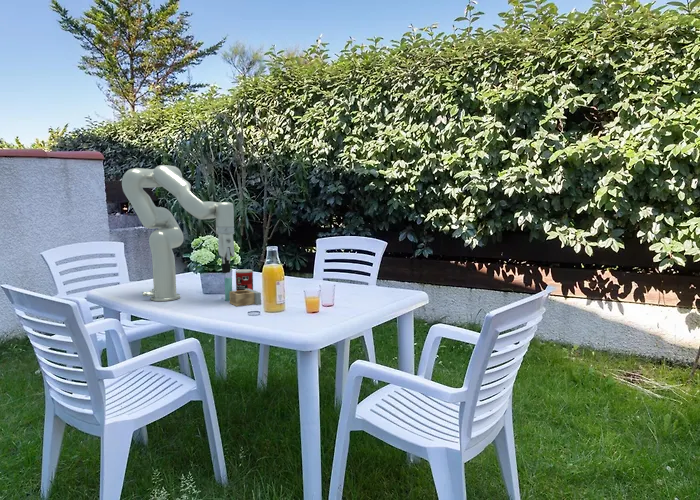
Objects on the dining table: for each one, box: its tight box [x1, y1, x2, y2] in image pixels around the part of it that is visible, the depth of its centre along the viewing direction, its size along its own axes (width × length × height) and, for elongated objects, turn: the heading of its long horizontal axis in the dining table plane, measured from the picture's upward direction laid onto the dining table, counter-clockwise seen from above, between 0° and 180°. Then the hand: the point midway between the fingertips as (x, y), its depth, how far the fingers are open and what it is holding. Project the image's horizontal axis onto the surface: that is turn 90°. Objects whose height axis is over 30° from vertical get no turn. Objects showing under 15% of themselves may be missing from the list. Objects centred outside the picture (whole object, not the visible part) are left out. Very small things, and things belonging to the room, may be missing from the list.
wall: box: [245, 289, 262, 306], centre depth 214 cm, size 2×12×5 cm, turn 36°
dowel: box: [224, 277, 233, 302], centre depth 217 cm, size 3×3×10 cm
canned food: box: [235, 268, 254, 291], centre depth 232 cm, size 8×8×11 cm
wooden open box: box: [229, 290, 256, 307], centre depth 211 cm, size 8×8×5 cm
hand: (226, 272), depth 214 cm, fingers closed
